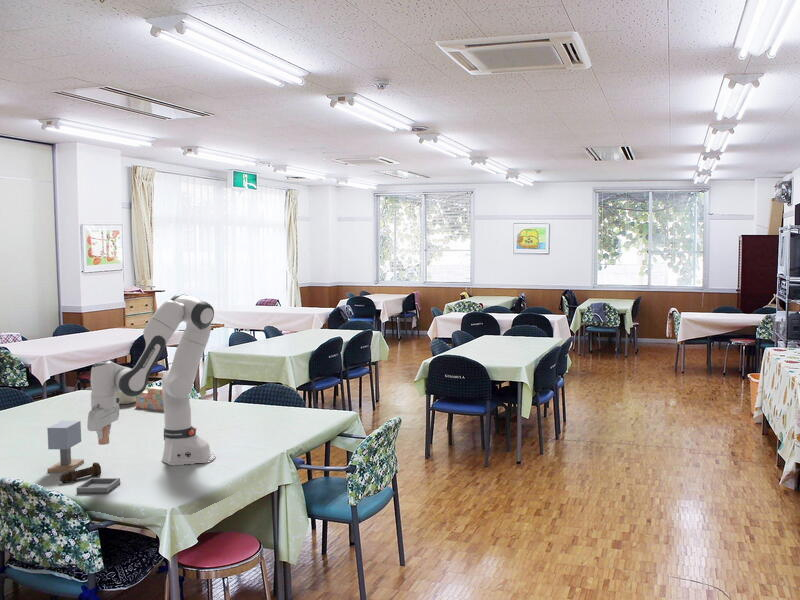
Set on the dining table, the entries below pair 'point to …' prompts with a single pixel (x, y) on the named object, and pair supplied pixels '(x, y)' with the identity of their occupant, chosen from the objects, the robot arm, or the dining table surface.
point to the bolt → (81, 473)
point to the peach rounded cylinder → (106, 436)
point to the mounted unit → (64, 444)
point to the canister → (125, 398)
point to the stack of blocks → (151, 399)
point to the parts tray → (98, 486)
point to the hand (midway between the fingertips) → (103, 436)
